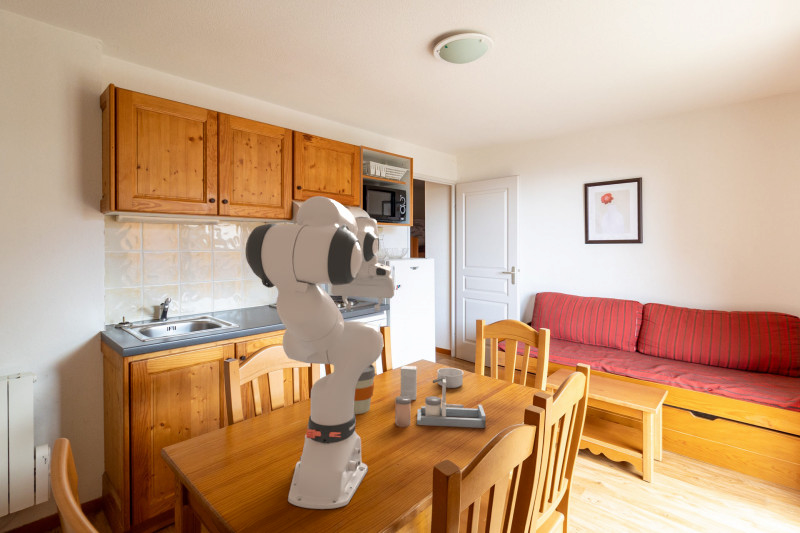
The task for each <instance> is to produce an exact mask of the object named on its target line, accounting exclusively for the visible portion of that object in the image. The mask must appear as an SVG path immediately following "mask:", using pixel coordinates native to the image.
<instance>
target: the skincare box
mask: <svg viewBox="0 0 800 533" xmlns="http://www.w3.org/2000/svg"><path fill="white" fill-rule="evenodd" d="M417 367H418V366H416V365H415V366H414V365H401V368H400V396H408V397H410V398H411V401H414V400H415V401H416V399H417V389H418V388H417V380H418V379H417V374H418V373H417V371H418V368H417Z"/></svg>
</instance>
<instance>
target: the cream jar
mask: <svg viewBox="0 0 800 533" xmlns="http://www.w3.org/2000/svg"><path fill="white" fill-rule="evenodd" d="M424 398H425V399H424V403H425V405H424V406H425V415H424V416H435V417H441V416H440V415H441V404H442V398H440V397H438V396H434V395H433V396H432V395H431V396H426V397H424Z"/></svg>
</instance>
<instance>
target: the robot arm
mask: <svg viewBox="0 0 800 533" xmlns="http://www.w3.org/2000/svg"><path fill="white" fill-rule="evenodd" d="M377 222H378V221H377V220H376V219H375V218H373V217H366V216H364V217H363V216H357V217H355V216H354V214H353V213H352V212H351V211H350V210H349V209H348V208H347V207H345V206H344V205H343V204H341V202H339V201H336V200H335V199H333V198H329V197H326V196H323V195H322V196H321V195H318V196H317V195H316V196H312V197H310V198H308V199H306V200H304V201H303V202H302V204H301V205H300V206H299V208H298V210H297V213H296V224H278V223H266V224H261V225H258V226H256V227H255V228H253V229H252V231H250V234H249V236H248V237H247V240H246V244H245V260H246V262H247V264H248V266H249V268H250V269H251V271H252V272H253V273H254V275H255V276H256V277H258V278H259V279H260V280H261V284H262V285H263V286H264V287H265V288H271V289H272V288H273V287H275V288H277V291H278V292H277V293H278V294H277V297H276V302H275V303H276V305H275V307H276V311H277V315H278V317H279V319H280V321H281V323H282V324H283V326H284V328H286V329H285V331H284V333H283V337H282V349H283V351H284V353H285V355H286V357H287V358H288V359H289V360H293V361H297V362H300V363H303V364H304V363H305V364H320V365H332V366H333V371H332V372H331V373H329V374H327V375H324V376H322V377H321V378H319V379H317V380H316V381H315V382H314V384H313V385H312V387H311V390H310V415H309V416H308V423H307V429H306V434H305V435H304V445H303V449H302V453H301V454H302V455H300V457H299V461H297V462H296V464H295V468H294V471H293V472H294V473H293V476H292V481H291V483H290V487H289V488H290V489H289V492H288V498H287V501H288V502H289V503H290V504H292V505H293V506H297V507H301V508H305V509H313V510H314V509H316V510H319V509H320V510H325V509H327V510H328V509H331V510H332V509H336V508H337V509H338V508H341V507H344V506H347V505H348V504H349V502H350V500H351V499H352V498H353V496H354V494H355V493H356V492H357V489H358V488H359V486H360V485H361V483H362V481H363V479H364V478H365V476H366V475H367V472H368V471H369V469H368V467H369V466H368V465H367V464H366V463H364V462H362V438H361V437H360V435H359V434H358V433H357V432H356V422H357V421H356V420H357V419H356V414H354V397H355V388H356V384H357V382H358V379H359V377H360V376H361V374H362V373H363V372H364V370H365V369H366V368H367V367H368V366H370V365H373V364H374V363H376V361H378V359H379V358H380V357H381V354H382V352H383V348H384V338H383V334H382V332H381V330H380V329H379V328H378V327H377V325H374V324H372V323H371V324H370V323H366V322H362V321H354V320H353V321H352V320H350V321H348V320H347V321H346V320H345V319H344V317H343V314H342V313H341V311H340V309H339V308H338V305H336V303H335V301H334V300H333V298H332V297H331V295H330V294H329V293H328V292H327V291H326V290H325V289H324V288H323V287H322V284H323V285H328V284H331V294H332V295H333V296H337V297H341V299H342V301H343V303H344V305H345V310H351V309H352V303H351V302H349V301H348V297H355V298H358V297H359V298H374V299H375V298H376V299H377V300H378V303H376V304H374V311H375V312H380V306H381V304H382V303H383V301H384V299H392V298H394V297H395V284H394V283H395V282H394V278H393V276H392V275H391V273H392V269H391V266H388V265H386V264H382V263H381V262H379V261H378V260H379V259H378V254H379V252H380V249H379V248H380V238H379V228H378V223H377Z"/></svg>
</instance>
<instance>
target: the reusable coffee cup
mask: <svg viewBox="0 0 800 533" xmlns="http://www.w3.org/2000/svg"><path fill="white" fill-rule="evenodd" d="M375 377H376V370H375V366H374V365H373V364H371V365H370V366H368V367H367V368H366V369H365V370H364V372H363V373H362V374H361V376H360V377H359V379H358V382H357V384H356V388H355V397H354V414H355V415H360V414H364V413H367V412H369V411H370V407H371V403H372V402H371V401H372V397H373V396H374V388H375V381H374V380H375Z"/></svg>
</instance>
